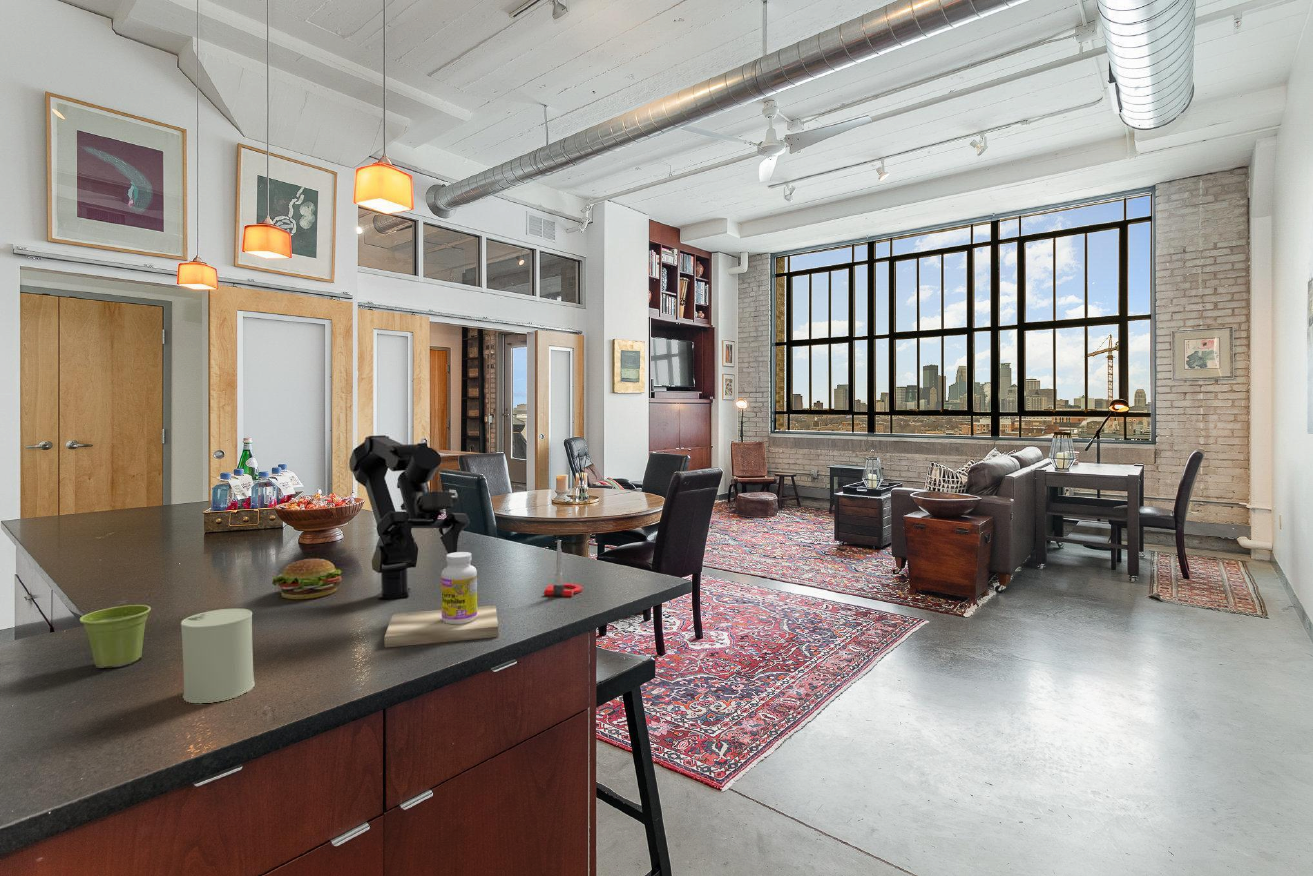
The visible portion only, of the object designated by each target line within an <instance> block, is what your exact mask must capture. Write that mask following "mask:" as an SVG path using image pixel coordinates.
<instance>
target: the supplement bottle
mask: <svg viewBox="0 0 1313 876" xmlns="http://www.w3.org/2000/svg"><path fill="white" fill-rule="evenodd" d="M445 555H446V557H445V559H446V563H447V566H446V567H444V568H443V569H442V571H441V574H440V577H441V578H440V579H441V583H440V585H441V591H440V593H441V610H442V620H443V621H444V622H445V623H448V624H464V623H468V622H471V621H473V620H475V619H476V617H477V607H478V571H477V568H476V567H475V566H473V565H471V562H472V553H471V552H469V551H468V552H467V551H457V552H455V553H450V554H448V553H447V554H445Z"/></svg>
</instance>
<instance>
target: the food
mask: <svg viewBox="0 0 1313 876" xmlns="http://www.w3.org/2000/svg"><path fill="white" fill-rule="evenodd" d="M342 575H343V571H341V569H337V568H336V567H335V565H334V563H333V562H331V561H329V560H326V559H322V558H307V559H301V560H298V561H297V560H296V561H294V562H292V563H290V564H288V565H286V566H285V568H284V569H283V571H282V574H278V575H277V576H275V577H274V575H273V576H272V578H271V579H272V583H271V584H272V585H273V586H279V587H280V588H281V594H280V595H281V597H282V598H284V599H289V600H309V599H316V598H321V597H324V596H327V595H330V594H333V593H334V592H336V591H337V590H338V586H340V585H341V583H340V582H341V581H342Z"/></svg>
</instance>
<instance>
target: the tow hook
mask: <svg viewBox="0 0 1313 876" xmlns="http://www.w3.org/2000/svg"><path fill="white" fill-rule="evenodd" d="M561 547H562V540H561V539H557V547H556V554H555V555H556V556H555V557H556V563H555V565H556V566H555V567H556V571H555V577H554V578H555V580H554V581H555V582H554V584H551V585H547V586H546V587H545V589H544V592H543V594H544V596H548V597H551V596H552V597H559V598H560V597H573V596H574V594H579V593H581V592H582V591H583V586H581V585H579V584H576V583H563V573H562V571H563V570H562V563H563V561H562V558H563V556H562V555H563V553H562V552H563V551H562V548H561Z"/></svg>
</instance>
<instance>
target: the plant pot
mask: <svg viewBox="0 0 1313 876" xmlns="http://www.w3.org/2000/svg"><path fill="white" fill-rule="evenodd" d="M151 610H152V608H151V606H149V605H145V604H134V605H133V604H130V605H122V606H121V605H120V606H115V607H108V608H103V609H100V610H96V611H92V612H90V613H87V614H85V615H83V616H81V617H80V618H79V623H81V624H83V627H84V630H85V631H86V632H87V637H88V639H89V640H88V641H89V643H90V644H89V645H90V649H91V653H92V657H93V661H94V665H98V666H113V665H120V664H124V663H129V662H133V661H135V660H137V661H138V660H140V659H139V658H140V657H141V658H142V654H143V644H144V635H145V627H146V621H147V620H148V615H149V613H150V612H151Z"/></svg>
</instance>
